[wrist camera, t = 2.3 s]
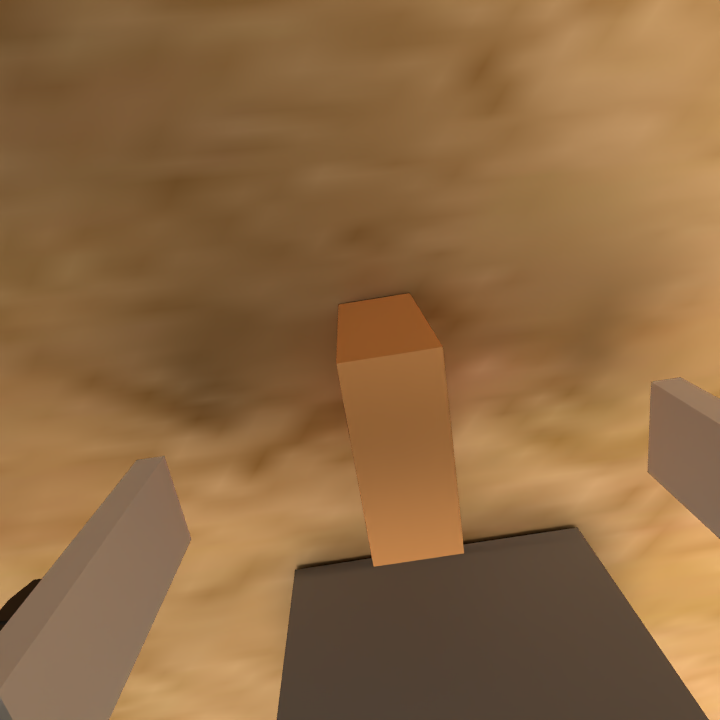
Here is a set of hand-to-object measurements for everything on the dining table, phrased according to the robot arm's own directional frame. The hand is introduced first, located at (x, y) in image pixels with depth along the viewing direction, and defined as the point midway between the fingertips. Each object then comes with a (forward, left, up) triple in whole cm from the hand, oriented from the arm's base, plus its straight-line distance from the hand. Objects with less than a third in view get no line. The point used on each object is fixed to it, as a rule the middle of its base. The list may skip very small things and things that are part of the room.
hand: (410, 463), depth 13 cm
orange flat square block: (0, 0, -5) cm, 5 cm away
